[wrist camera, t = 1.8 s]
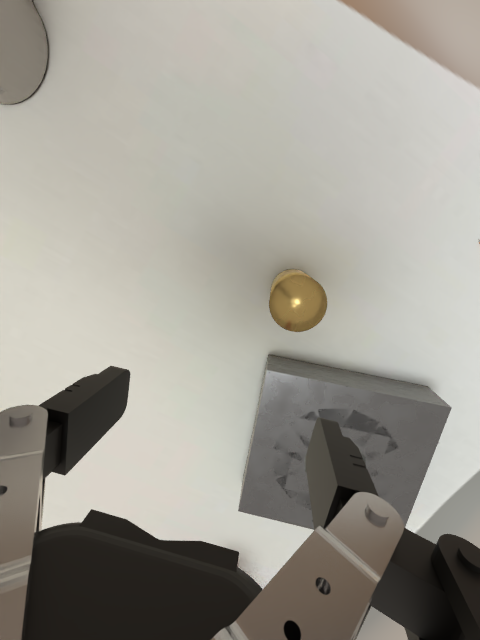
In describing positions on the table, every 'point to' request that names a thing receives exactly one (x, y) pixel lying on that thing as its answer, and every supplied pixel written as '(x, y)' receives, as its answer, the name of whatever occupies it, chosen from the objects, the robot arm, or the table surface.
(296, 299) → the brass peg
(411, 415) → the jig
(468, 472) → the table surface
